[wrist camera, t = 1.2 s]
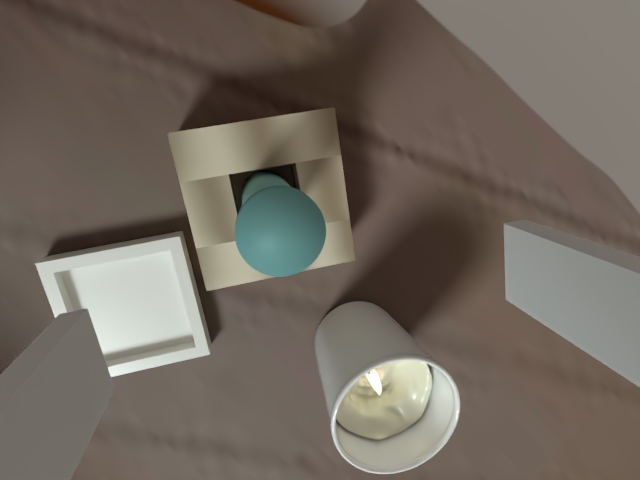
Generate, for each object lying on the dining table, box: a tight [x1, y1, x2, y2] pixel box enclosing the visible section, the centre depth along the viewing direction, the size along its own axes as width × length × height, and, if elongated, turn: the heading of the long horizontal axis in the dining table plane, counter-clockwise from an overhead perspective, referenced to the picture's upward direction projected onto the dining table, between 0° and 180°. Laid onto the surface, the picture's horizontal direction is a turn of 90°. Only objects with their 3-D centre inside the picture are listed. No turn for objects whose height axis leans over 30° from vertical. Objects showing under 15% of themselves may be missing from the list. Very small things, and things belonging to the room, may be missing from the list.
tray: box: [35, 231, 211, 377], centre depth 36 cm, size 11×11×2 cm
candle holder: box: [314, 301, 460, 474], centre depth 36 cm, size 10×10×12 cm
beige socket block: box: [167, 107, 355, 291], centre depth 34 cm, size 12×12×5 cm
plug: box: [235, 170, 326, 277], centre depth 29 cm, size 5×5×14 cm
